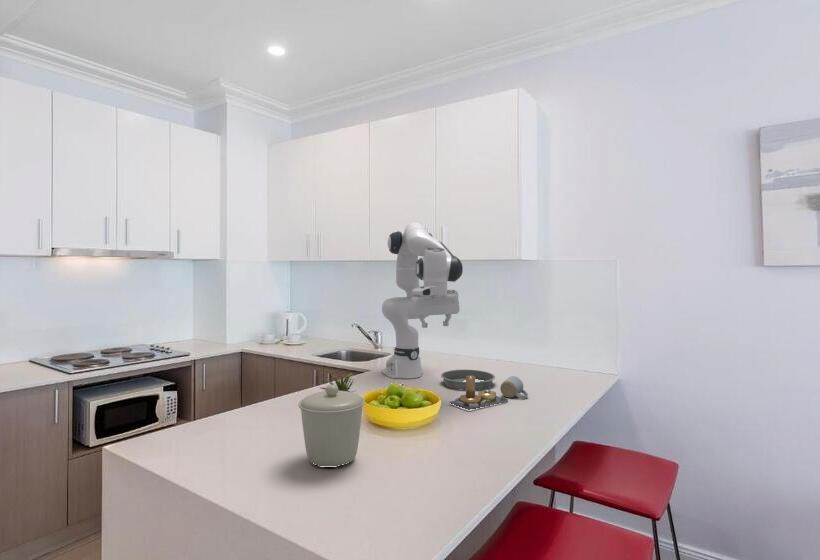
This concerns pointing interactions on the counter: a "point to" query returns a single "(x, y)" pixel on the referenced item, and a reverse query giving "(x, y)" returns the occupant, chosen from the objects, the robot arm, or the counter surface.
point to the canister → (331, 426)
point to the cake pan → (458, 376)
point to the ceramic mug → (513, 388)
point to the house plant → (342, 383)
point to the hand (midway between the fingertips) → (435, 326)
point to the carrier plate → (486, 400)
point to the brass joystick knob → (470, 392)
